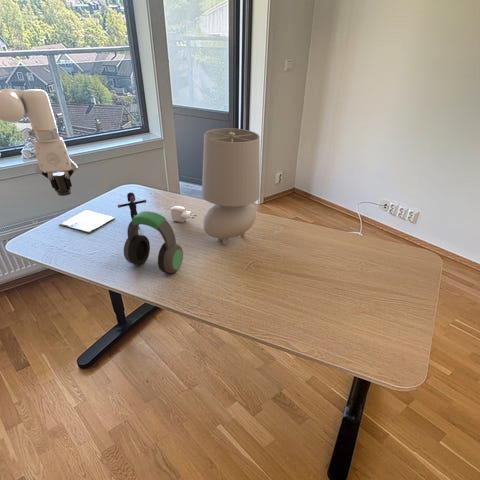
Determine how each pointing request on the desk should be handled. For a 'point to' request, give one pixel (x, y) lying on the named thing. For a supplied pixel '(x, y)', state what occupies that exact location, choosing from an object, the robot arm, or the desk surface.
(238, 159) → the table lamp
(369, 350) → the desk surface
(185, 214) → the power adapter
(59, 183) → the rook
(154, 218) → the headphones
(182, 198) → the desk surface
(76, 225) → the board
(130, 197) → the figurine
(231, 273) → the desk surface
